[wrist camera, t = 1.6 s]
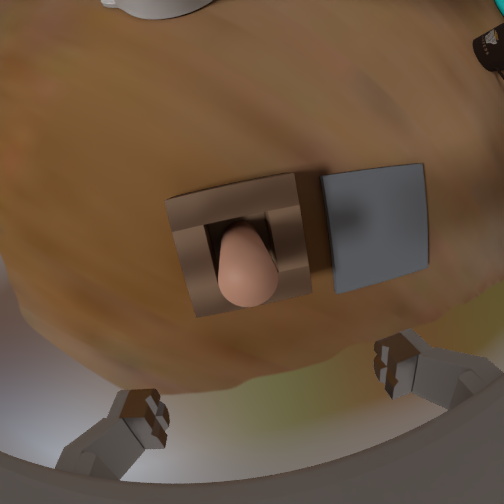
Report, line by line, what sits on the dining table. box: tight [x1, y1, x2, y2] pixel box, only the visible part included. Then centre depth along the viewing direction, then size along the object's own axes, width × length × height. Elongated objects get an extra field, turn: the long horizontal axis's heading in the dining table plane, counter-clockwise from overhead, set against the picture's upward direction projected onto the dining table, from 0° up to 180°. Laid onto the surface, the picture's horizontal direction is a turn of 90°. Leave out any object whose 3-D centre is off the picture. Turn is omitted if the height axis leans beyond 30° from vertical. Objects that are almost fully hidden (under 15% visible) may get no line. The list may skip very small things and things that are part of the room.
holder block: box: [164, 173, 312, 318], centre depth 29 cm, size 12×12×5 cm
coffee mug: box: [473, 23, 504, 79], centre depth 22 cm, size 12×9×10 cm
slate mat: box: [320, 164, 428, 294], centre depth 32 cm, size 14×14×1 cm
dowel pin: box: [218, 221, 278, 307], centre depth 25 cm, size 4×4×12 cm
